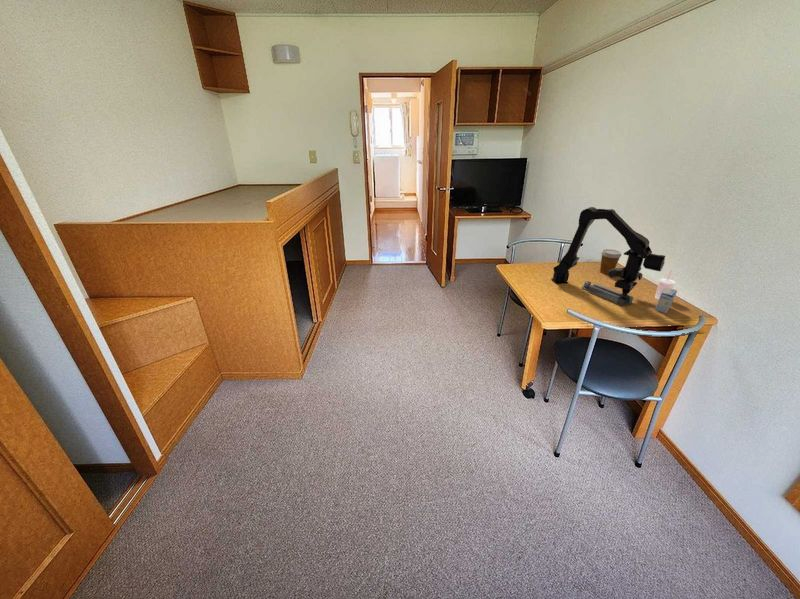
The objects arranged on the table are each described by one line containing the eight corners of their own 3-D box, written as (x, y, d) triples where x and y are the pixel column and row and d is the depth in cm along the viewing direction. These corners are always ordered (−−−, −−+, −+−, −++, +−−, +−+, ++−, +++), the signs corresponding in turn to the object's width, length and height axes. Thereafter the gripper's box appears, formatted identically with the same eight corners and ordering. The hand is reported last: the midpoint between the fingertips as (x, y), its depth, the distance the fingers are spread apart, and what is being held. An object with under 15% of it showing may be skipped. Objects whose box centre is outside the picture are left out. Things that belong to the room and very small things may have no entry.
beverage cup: (660, 301, 154) (671, 273, 147) (649, 296, 159) (659, 268, 153) (672, 300, 154) (682, 272, 148) (660, 295, 160) (670, 267, 154)
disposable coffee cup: (619, 275, 182) (625, 254, 177) (602, 275, 183) (607, 254, 177) (610, 269, 191) (615, 249, 186) (593, 269, 191) (598, 249, 186)
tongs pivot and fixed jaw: (578, 288, 169) (580, 281, 167) (585, 286, 171) (587, 279, 169) (622, 306, 150) (624, 299, 149) (629, 304, 152) (631, 297, 150)
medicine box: (658, 304, 151) (665, 287, 147) (670, 307, 148) (677, 290, 145) (654, 310, 146) (661, 292, 143) (666, 313, 144) (673, 295, 140)
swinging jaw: (591, 289, 166) (592, 284, 165) (594, 288, 167) (596, 283, 166) (628, 304, 152) (630, 298, 150) (631, 302, 153) (633, 297, 151)
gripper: (620, 256, 160) (611, 285, 167) (606, 266, 149) (598, 297, 156) (647, 261, 153) (637, 292, 160) (634, 273, 142) (624, 305, 149)
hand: (623, 296), depth 156 cm, fingers closed
